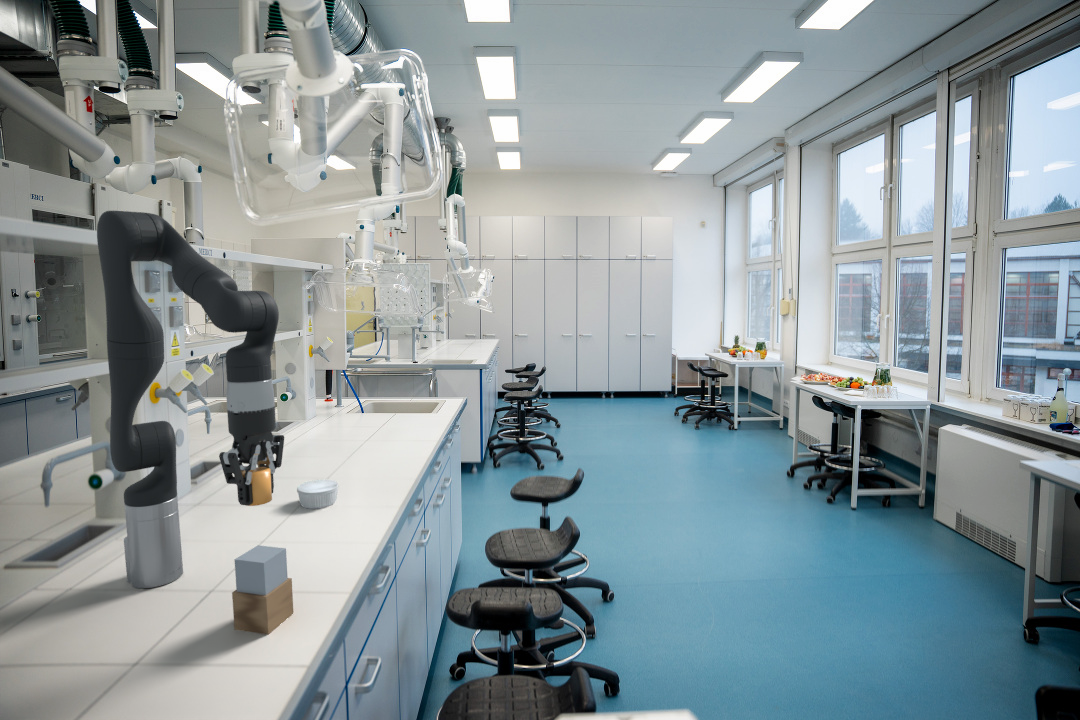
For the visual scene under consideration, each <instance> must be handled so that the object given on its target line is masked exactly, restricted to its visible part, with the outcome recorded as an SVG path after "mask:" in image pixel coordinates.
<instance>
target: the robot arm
mask: <svg viewBox="0 0 1080 720" xmlns="http://www.w3.org/2000/svg"><path fill="white" fill-rule="evenodd" d="M96 227H97V228H96V241H97V242H96V243H97V248H98V255H99V257H98V258H99V262H100V269H101V275H102V281H103V287H104V288H103V289H104V290H103V291H104V298H105V315H106V346H107V349H106V350H107V363H108V373H109V384H110V385H109V386H110V422H109V423H110V427H109V428H110V429H109V430H110V431H109V449H110V451H109V453H110V459H111V463H112V465H113V468H114V469H115V470H117V472H120V473H125V472H127V473H128V472H133V471H134V472H135V471H138V470H145V469H151V468H153V469H152V470H151V472H150V473H149V474H147V475H146V476H144V477H143V478H142V479H140V480H138V481H136V482H134V483H132V484H130V485H129V486H127V487H126V488H125V490H124V491H123V502H124V512H125V513H124V515H125V524H126V525H125V526H126V536H125V537H124V538H123V545H124V547H123V548H124V559H125V569H126V582H127V583H130V584H131V586H132V587H133V588H137V589H152V588H157V587H160V586H163V585H167V584H170V583H172V582H175V581H176V580H178V579H179V578H180V577H181V576H182V575H183V573H184V568H183V551H182V539H181V538H182V537H181V527H180V525H181V524H180V513H179V512H180V511H179V502H178V501H179V499H178V489H177V488H178V477H177V476H178V475H177V441H176V440H177V439H176V433H175V430H174V427H173V426H172V424H171V423H170V422H168V421H167V420H158V421H157V420H156V421H151V422H150V421H149V422H142V423H136V424H133V422H134V418H135V414H136V410H137V408H138V406H139V404H140V402H141V399H142V397H143V395H145V393H146V391H147V390H148V389H149V387H150V386H151V385H152V383H153V381H154V380H155V379H156V377H157V376H158V375H159V373H160V371H161V370H162V367H163V365H164V362H165V335H164V329H163V326H162V324H161V322H160V320H159V319H158V318H157V316H156V314H155V313H154V312H153V310H151V308H150V307H149V306H148V303H146V302H145V300H144V299H143V298H142V297H141V294H140V293H139V291H138V289H137V287H136V285H135V280H134V276H133V268H132V262H155V261H158V262H160V263H161V262H162V263H164V264H165V265H168V266H170V267H171V277H172V279H173V282H174V283H175V285H176V286H177V288H178V289H179V290H181V292H183V293H184V294H185V295H187V296H188V297H189V298H190V299H192V300H193V301H194V302H195V303H197V304H199V305H200V306H201V307H202V310H203V311H204V312H205V314H206V315H207V317H208V318H209V320H210V322H211V323H212V325H214V326H215V327H216V328H217V329H219V330H221V331H223V332H227V333H235V334H236V333H245V332H246V334H245V338H244V340H243V342H242V343H240V344H238V345H236V346H232V347H230V348H229V349H227V351H226V353H225V368H226V369H225V370H226V372H225V373H226V394H225V397H226V410H227V413H226V414H227V427H228V433H229V435H231V436H232V437H233V440H232V441H233V442H232V446H231V449H229V450H228V451H221V452H220V453H219V454H218V455H219V456H218V457H219V461H220V464H221V467H222V471H223V474H224V478H225V482H226V483H227V484H228V485H236V487H237V501H238V503H239V504H240V506H246V505H251V504H252V503H253V494H252V484H250V483H251V479H252V473H253V471H255V470H256V467H267V468H270V472H271V490H272V494H273V493H274V487H275V484H274V483H275V482H274V481H275V479H274V474H275V473H276V469H277V468H280V467H281V466H282V462H283V453H284V446H285V445H284V444H285V435H282V434H273V431H275V430H276V428H277V425H276V424H277V422H276V405H275V390H274V385H273V379H272V375H273V374H272V362H271V360H272V359H271V355H272V352H273V351H272V350H273V347H274V342H275V337H276V334H277V329H278V325H279V318H280V317H279V315H280V314H279V308H278V304H277V301H276V299H274V297H273V296H272V295H271V294H270V293H269V292H267V291H263V290H239V288H238V285H237V283H236V281H235V279H234V278H233V277H231V276H230V275H229V274H228V273H226V272H225V271H223V270H222V269H220V268H219V267H218V266H216V265H215V264H213V263H211V262H210V261H209V260H207V259H206V258H205V257H204V256H202V255H200V253H199V252H197V250H195V248H193V247H192V245H191V244H189V242H188V241H187V240H186V239H185V238H184V237H183V236H182V235H181V234H180V233H179V232H178V231H177V230H176V229H175V228H174V226H172V224H170V223H169V222H168V221H167V220H166V219H165V218H163V217H161V216H160V215H158V214H155V213H150V212H142V211H141V212H139V211H128V210H126V211H125V210H124V211H123V210H106V211H104V212H102V213H101V215H100V216H99V218H98V222H97V225H96ZM274 455H275V457H274ZM244 464H245V465H244ZM244 470H245V471H246V473H245V477H243V476H242V475H243V471H244Z"/></svg>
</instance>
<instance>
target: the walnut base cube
mask: <svg viewBox="0 0 1080 720" xmlns="http://www.w3.org/2000/svg"><path fill="white" fill-rule="evenodd" d="M231 594H232V595H231V597H232V612H233V626H234V627H233V628H234V630H236V631H240V632H241V631H243V632H249V633H256V634H261V635H268V636H269V635H270V634H271V633H272V632H274V631H275V630H276V629H277V628H278V627H279V626H281V625H282V624H284V623H285V622H286V621H287V620H288V619H289V618H290V617H292V614H293V613H294V598H293V578H291V577H288V579H287V580H286V581H285V582H283V583H282V584H281V585H279V586H278V587H277V588H275V589H274V590H272V591H271V592H270V593H268V594H267V595H259V594H251V593H244V592H237V590H236V589H235V590H234V591H232V592H231ZM293 615H294V614H293ZM287 618H288V619H287ZM286 619H287V620H286ZM281 623H282V624H281ZM280 624H281V625H280Z"/></svg>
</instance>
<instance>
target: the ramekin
mask: <svg viewBox="0 0 1080 720" xmlns="http://www.w3.org/2000/svg"><path fill="white" fill-rule="evenodd" d="M339 486H340V485H339V482H338V481H336V480H333V479H315V480H310V481H309V480H308V481H306V482H303V483H300V484H299V485H298V486H297V488H296V492H297V494H298V499H299V503H300V506H302V507H303V508H305V509H311V510H312V509H314V510H316V509H317V510H318V509H323V508H327V506H328V507H330V506H333V505H334V504H335V503H336V502H337V499H338V490H339Z"/></svg>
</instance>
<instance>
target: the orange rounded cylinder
mask: <svg viewBox="0 0 1080 720" xmlns="http://www.w3.org/2000/svg"><path fill="white" fill-rule="evenodd" d="M245 473H246V471H245V470H244V471H243V475H242V476H243V477H245ZM250 484H252V494H253V503H252V504H251V505H245V506H249V507H255V506H261V505H267V504H268V503H270V502H272V501H273V493H272V490H271V472H270V468H267V467H258V466H256V470H255V471H253V473H252V479H251V483H250Z"/></svg>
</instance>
